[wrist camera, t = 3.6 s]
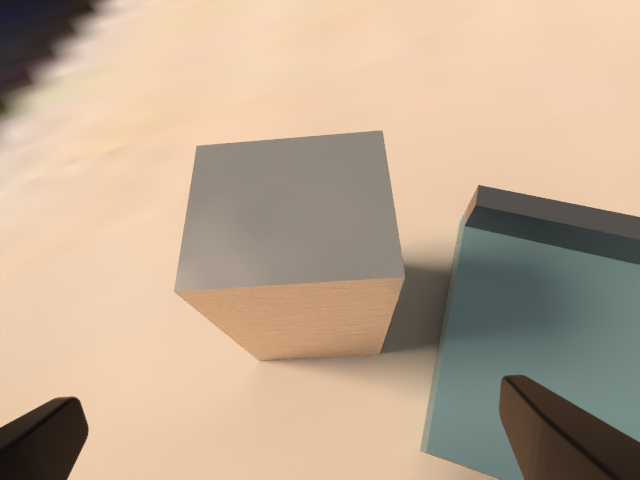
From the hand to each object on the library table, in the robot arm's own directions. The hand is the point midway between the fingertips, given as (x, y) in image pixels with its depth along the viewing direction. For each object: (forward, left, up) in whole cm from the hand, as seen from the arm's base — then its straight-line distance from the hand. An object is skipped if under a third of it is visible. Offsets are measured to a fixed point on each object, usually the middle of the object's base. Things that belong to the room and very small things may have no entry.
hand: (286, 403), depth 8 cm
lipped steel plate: (-2, -12, -10) cm, 16 cm away
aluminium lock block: (+5, -2, -10) cm, 12 cm away
